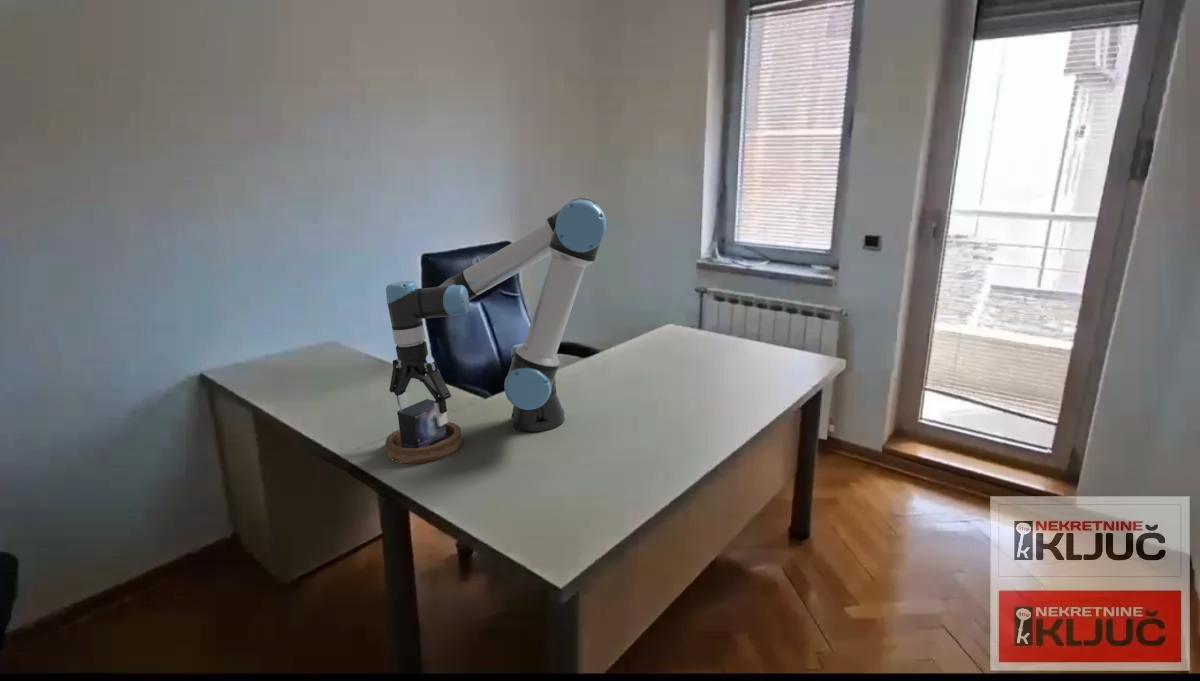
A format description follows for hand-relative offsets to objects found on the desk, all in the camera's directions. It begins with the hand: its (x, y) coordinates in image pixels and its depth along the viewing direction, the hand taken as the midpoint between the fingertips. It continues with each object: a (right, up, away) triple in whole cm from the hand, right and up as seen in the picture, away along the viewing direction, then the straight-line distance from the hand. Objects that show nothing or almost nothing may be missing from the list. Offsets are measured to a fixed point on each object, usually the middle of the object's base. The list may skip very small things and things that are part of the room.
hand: (424, 420), depth 161 cm
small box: (0, -6, +2) cm, 7 cm away
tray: (0, -7, +2) cm, 8 cm away
